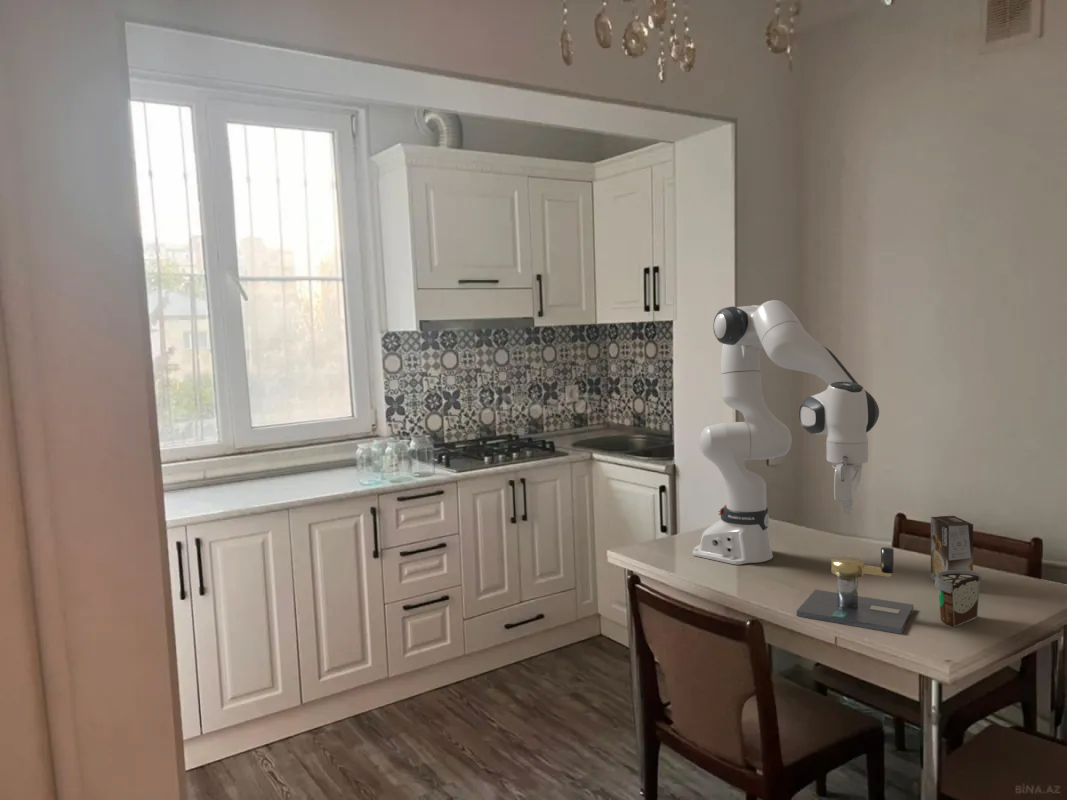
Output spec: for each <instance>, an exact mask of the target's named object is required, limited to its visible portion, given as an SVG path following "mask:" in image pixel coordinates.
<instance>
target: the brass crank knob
mask: <svg viewBox="0 0 1067 800" xmlns="http://www.w3.org/2000/svg"><path fill="white" fill-rule="evenodd" d="M894 550H895V549H894V548H893V547H887V546H884V547H881V548H880V566H874V565H866V564H865V561H864V560H863V559H861V558H858V557H853V556H836V557H833V558H831V559H830V560H831V561H830V562H831V565H830V567H831V571H830V572H831V573H832V574H833V575H834V576H836V577H837V576H840V577H846V578H857V577H858V578H861V577H863V576H864V575H872V576H873V575H874V576H880V577H888V578H892V576H893V574H894V570H895V569H894V567H895V565H894V562H895V561H894V560H895V559H894V555H895V553H894Z"/></svg>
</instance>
